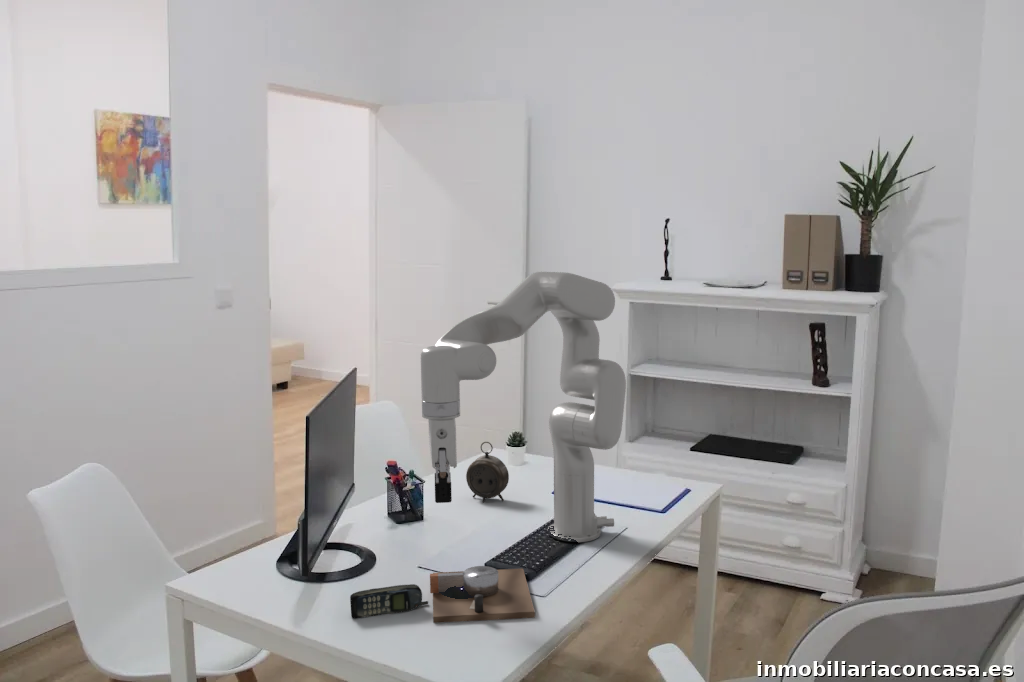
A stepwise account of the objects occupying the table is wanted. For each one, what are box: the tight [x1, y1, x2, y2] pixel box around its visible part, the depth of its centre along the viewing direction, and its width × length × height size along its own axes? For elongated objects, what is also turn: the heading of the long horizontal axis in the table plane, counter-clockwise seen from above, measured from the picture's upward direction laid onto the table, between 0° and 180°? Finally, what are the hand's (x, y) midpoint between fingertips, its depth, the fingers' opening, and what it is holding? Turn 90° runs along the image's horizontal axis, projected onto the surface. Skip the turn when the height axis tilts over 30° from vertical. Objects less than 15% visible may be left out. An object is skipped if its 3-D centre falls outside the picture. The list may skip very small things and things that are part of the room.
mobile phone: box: [349, 583, 429, 619], centre depth 170 cm, size 5×3×15 cm
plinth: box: [432, 568, 536, 624], centre depth 176 cm, size 19×21×4 cm
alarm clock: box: [465, 441, 510, 504], centre depth 236 cm, size 11×5×16 cm, turn 69°
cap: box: [429, 565, 499, 596], centre depth 175 cm, size 14×7×4 cm, turn 95°
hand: (443, 496), depth 177 cm, fingers open, 5 cm apart
